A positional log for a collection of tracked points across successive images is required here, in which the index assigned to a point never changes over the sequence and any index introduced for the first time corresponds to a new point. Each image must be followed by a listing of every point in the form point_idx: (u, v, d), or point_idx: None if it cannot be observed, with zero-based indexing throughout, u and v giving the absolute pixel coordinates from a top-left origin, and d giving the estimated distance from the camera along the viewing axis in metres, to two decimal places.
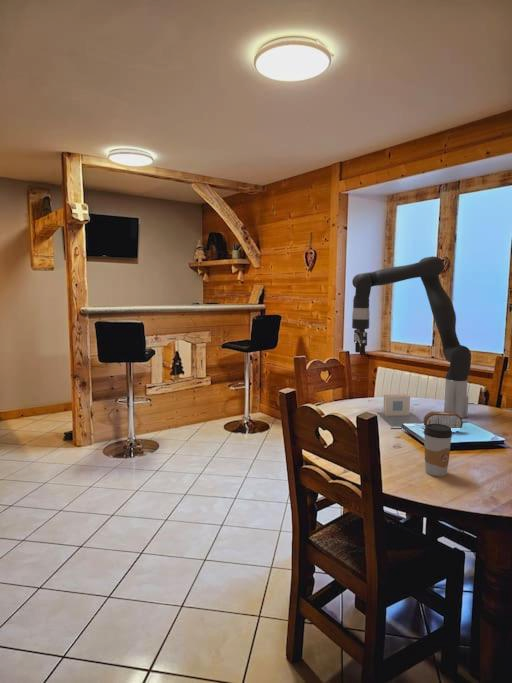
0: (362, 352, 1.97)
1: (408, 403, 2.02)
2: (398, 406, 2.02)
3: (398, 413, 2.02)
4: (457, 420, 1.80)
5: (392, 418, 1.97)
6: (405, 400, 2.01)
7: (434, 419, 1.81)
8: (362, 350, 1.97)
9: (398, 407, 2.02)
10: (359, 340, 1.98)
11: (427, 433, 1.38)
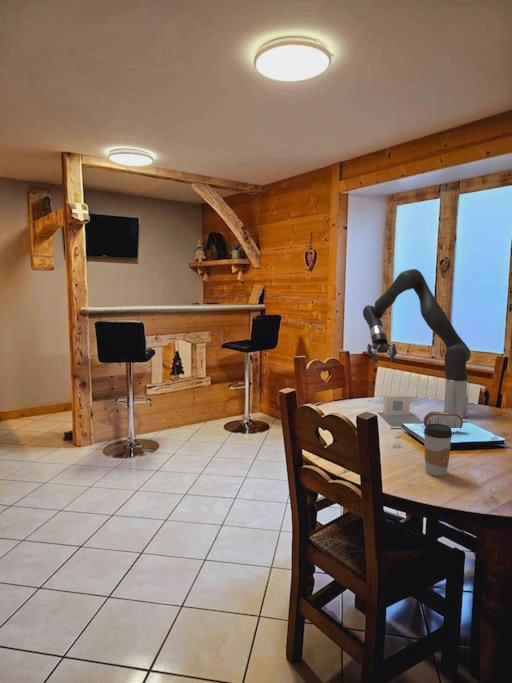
0: (374, 360, 2.21)
1: (408, 403, 2.02)
2: (398, 406, 2.02)
3: (398, 413, 2.02)
4: (457, 420, 1.80)
5: (392, 418, 1.97)
6: (405, 400, 2.01)
7: (434, 419, 1.81)
8: (373, 358, 2.22)
9: (398, 407, 2.02)
10: None
11: (427, 433, 1.38)
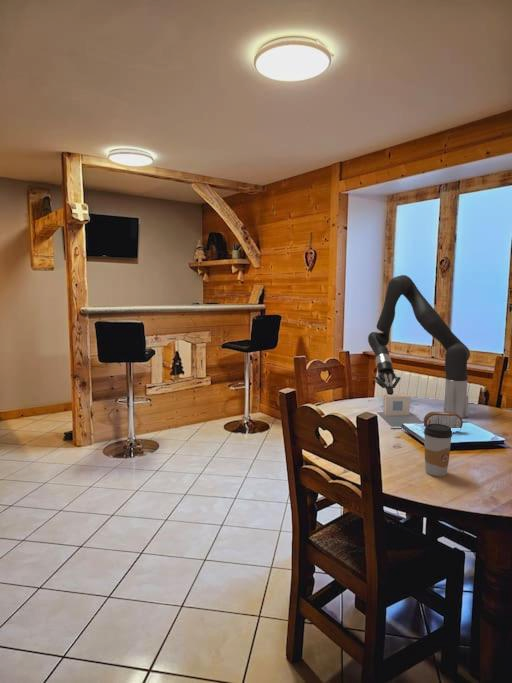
0: (387, 392, 2.12)
1: (408, 403, 2.02)
2: (398, 406, 2.02)
3: (398, 413, 2.02)
4: (457, 420, 1.80)
5: (392, 418, 1.97)
6: (405, 400, 2.01)
7: (434, 419, 1.81)
8: (387, 391, 2.13)
9: (398, 407, 2.02)
10: None
11: (427, 433, 1.38)
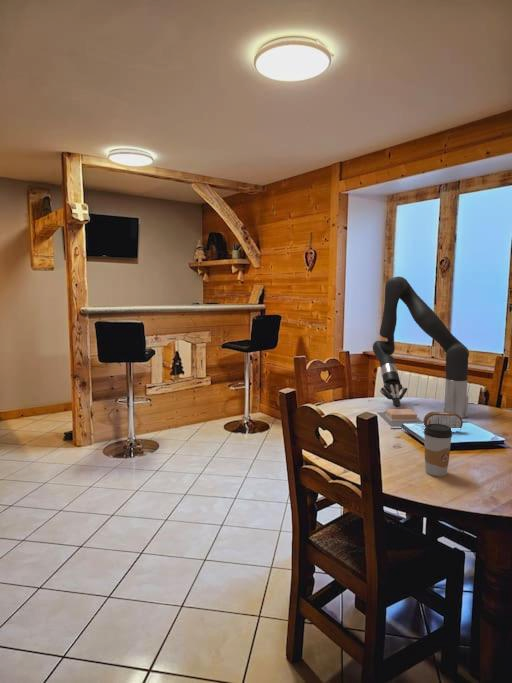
0: (394, 404, 2.03)
1: None
2: None
3: None
4: (457, 420, 1.80)
5: None
6: None
7: (434, 419, 1.81)
8: (393, 402, 2.03)
9: None
10: None
11: (427, 433, 1.38)
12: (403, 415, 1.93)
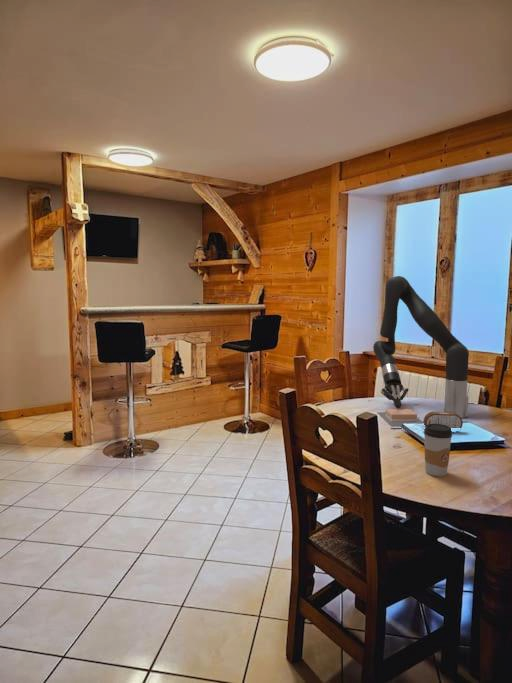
0: (395, 405, 2.01)
1: None
2: None
3: None
4: (457, 420, 1.80)
5: None
6: None
7: (434, 419, 1.81)
8: (394, 403, 2.02)
9: None
10: None
11: (427, 433, 1.38)
12: (403, 415, 1.93)
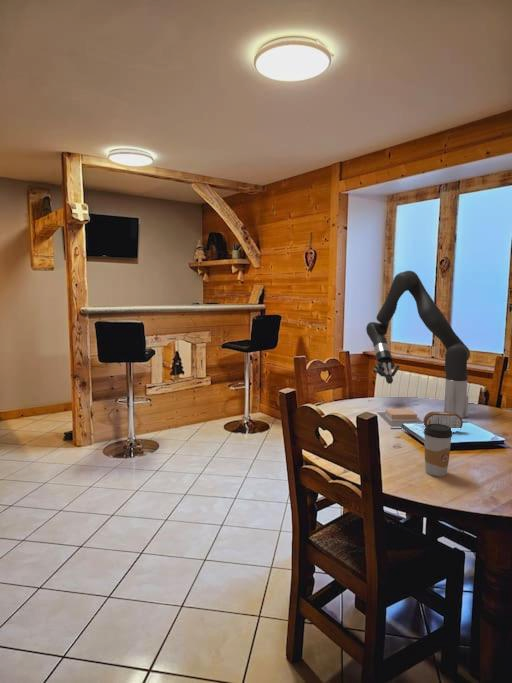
0: (386, 380, 2.14)
1: None
2: None
3: None
4: (457, 420, 1.80)
5: None
6: None
7: (434, 419, 1.81)
8: (386, 379, 2.14)
9: None
10: None
11: (427, 433, 1.38)
12: (403, 415, 1.93)
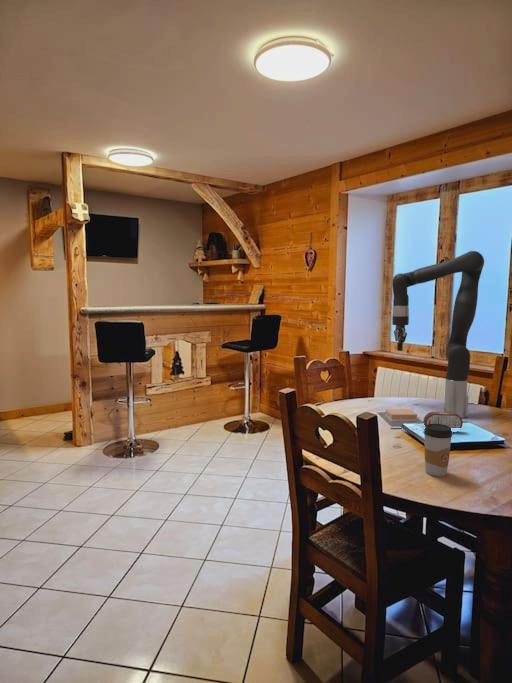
0: (400, 348, 2.15)
1: None
2: None
3: None
4: (457, 420, 1.80)
5: None
6: None
7: (434, 419, 1.81)
8: (400, 346, 2.15)
9: None
10: (398, 337, 2.14)
11: (427, 433, 1.38)
12: (403, 415, 1.93)
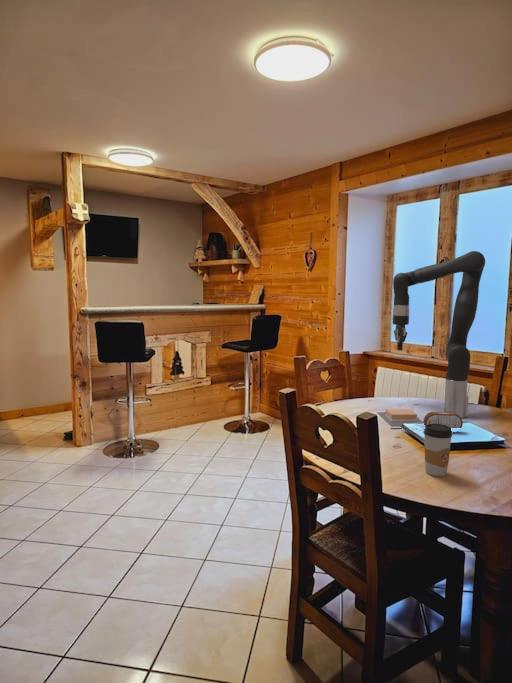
0: (400, 348, 2.15)
1: None
2: None
3: None
4: (457, 420, 1.80)
5: None
6: None
7: (434, 419, 1.81)
8: (400, 346, 2.15)
9: None
10: (398, 337, 2.14)
11: (427, 433, 1.38)
12: (403, 415, 1.93)
